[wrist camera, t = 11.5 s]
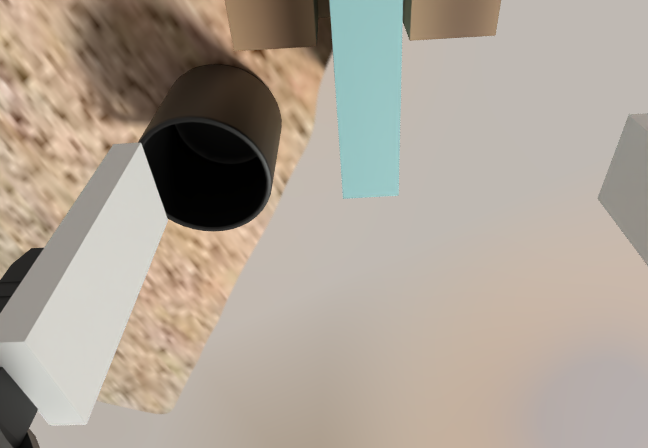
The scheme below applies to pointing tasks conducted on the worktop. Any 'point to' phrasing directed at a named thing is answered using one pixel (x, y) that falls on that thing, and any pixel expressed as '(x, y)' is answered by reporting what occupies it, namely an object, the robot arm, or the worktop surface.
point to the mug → (214, 148)
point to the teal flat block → (368, 93)
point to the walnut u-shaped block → (312, 3)
